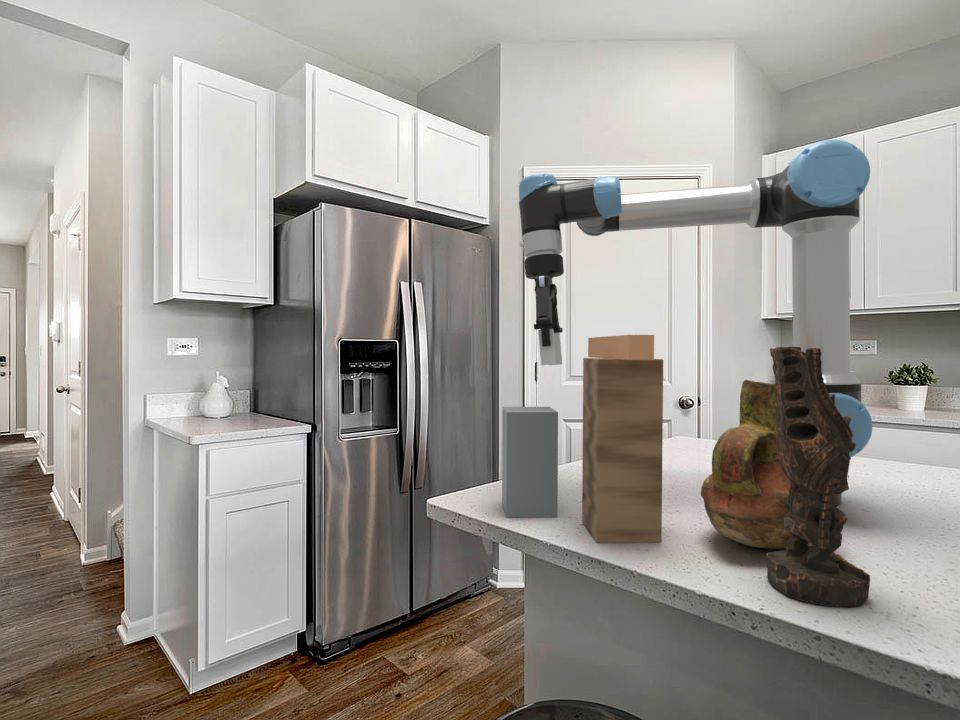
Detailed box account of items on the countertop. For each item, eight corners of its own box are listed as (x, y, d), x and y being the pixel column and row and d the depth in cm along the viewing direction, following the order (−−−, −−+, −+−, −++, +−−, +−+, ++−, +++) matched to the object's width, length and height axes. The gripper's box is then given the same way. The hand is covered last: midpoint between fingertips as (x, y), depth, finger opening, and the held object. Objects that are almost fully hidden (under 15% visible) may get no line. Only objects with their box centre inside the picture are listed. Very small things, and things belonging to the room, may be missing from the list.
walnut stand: (582, 522, 97) (583, 358, 96) (640, 522, 97) (641, 358, 96) (596, 543, 87) (598, 359, 86) (661, 542, 87) (663, 359, 86)
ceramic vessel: (856, 538, 89) (858, 379, 89) (792, 582, 72) (795, 386, 72) (745, 513, 102) (747, 374, 102) (669, 547, 85) (671, 380, 84)
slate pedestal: (502, 503, 108) (502, 406, 108) (549, 503, 109) (549, 406, 108) (506, 517, 99) (506, 412, 99) (557, 517, 100) (558, 412, 99)
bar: (588, 357, 106) (588, 337, 106) (607, 357, 106) (607, 338, 106) (629, 360, 81) (629, 334, 81) (653, 360, 81) (654, 334, 81)
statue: (882, 612, 64) (887, 346, 63) (782, 603, 66) (785, 346, 66) (843, 576, 74) (847, 346, 74) (757, 569, 76) (760, 346, 76)
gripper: (532, 269, 124) (540, 366, 123) (513, 245, 100) (523, 366, 99) (567, 265, 122) (575, 363, 122) (556, 240, 98) (567, 362, 97)
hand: (552, 365), depth 110 cm, fingers open, 13 cm apart
